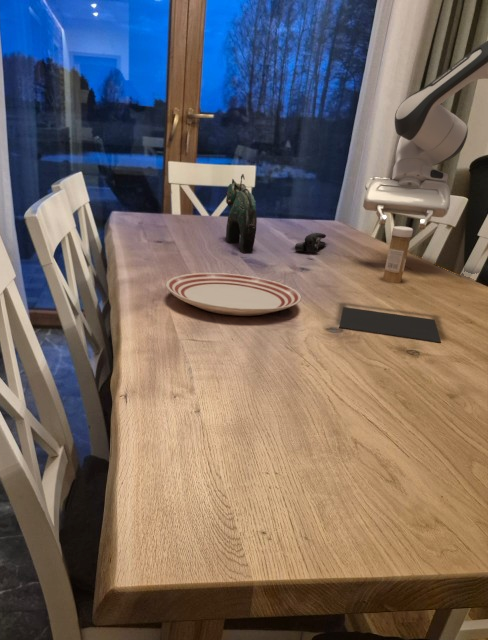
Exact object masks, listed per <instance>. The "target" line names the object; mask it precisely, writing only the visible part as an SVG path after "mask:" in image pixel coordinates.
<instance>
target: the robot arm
mask: <svg viewBox="0 0 488 640" xmlns="http://www.w3.org/2000/svg"><path fill="white" fill-rule="evenodd" d="M484 79H487V80H488V40H486V41H485V42H483V43H482V44H480V45H478V46H477V47H476V48H474V49H473V50H471V51H470V52H469V53H468V54H466V55H465V56H463V57H462V58H461V59H460V60H458V61H457V62H456V63H454V64H453V65H451V67H448V69H447V70H445V71H444V72H443V73H441V74H440V75H438V76H437V77H436V78H435V79H433V81H431V82H429V83H428V84H427V85H426V86H424V87H422V88H421V89H419V90H417V91H415V92H413V93H412V94H411V95H409V96H408V97H406V98H405V99H404V100H403V101H402V102H401V103H400V105H399V106H398V107H397V109H396V111H395V114H394V129H395V133H396V134H397V135H398V136H399V140H398V142H397V146H396V149H395V150H396V151H395V155H394V159H395V163H394V165H393V168H392V173H391V177H385V176H384V177H382V176H381V177H379V176H373V177H370V178H368V179H367V180H366V182H365V185H364V187H365V190H366V192H365V196H364V199H363V204H362V207H363V208H364V209H365V211H373V212H376V213H375V214H376V216H377V218H378V219H379V220H378V225H380V226H385V225H386V222H387V217H388V215H387V214H384V213H392V214H400V215H401V214H402V215H403V214H404V215H412V216H423V217H424V218H420V220H419V223H418V230H425V229H426V227H427V224H428V223H429V222H430V221H431V220H432V218H444V217H446V216H447V214H448V212H449V209H450V205H451V188H450V186H449V185H448V180H449V174H448V173H447V172H444V171H441V170H438V169H435V168H433V167H432V166H438V165H440V164H442V163H445V162H447V161H449V160H451V159H453V158H455V157H456V156H457V155H459V154H460V153H461V151H463V148H464V147H465V145H466V141H467V139H468V133H469V129H468V124H467V123H465V121H463V120H462V119H461V118H459V117H458V116H457V115H456V114H455V113H453V112H451V110H448V109H447V108H446V107H444V106H443V105H442V104H443V103H444V102H445V101H447V100H448V99H449V98H451V97H452V96H454V95H455V94H456V93H457V92H459V91H460V90H462V89H463V88H464V87H466V86H467V85H469V84H470V83H472V82H475V81H478V80H484Z"/></svg>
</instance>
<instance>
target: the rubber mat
mask: <svg viewBox="0 0 488 640" xmlns="http://www.w3.org/2000/svg"><path fill="white" fill-rule="evenodd" d="M338 328H339V329H341V330H349V331H356V332H364V333H369V334H370V333H371V334H375V335H382V336H384V335H385V336H390V337H397V338H402V339H403V338H404V339H411V340H418V341H423V342H424V341H425V342H431V343H437V344H441V343H442V340H441V337H440V334H439V330H438V326H437V323H436V320H435V319H433V318H425V317H419V316H411V315H404V314H396V313H390V312H382V311H375V310H369V309H368V310H367V309H361V308H354V307H347V306H343V307H342V312H341V317H340V322H339V326H338Z"/></svg>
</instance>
